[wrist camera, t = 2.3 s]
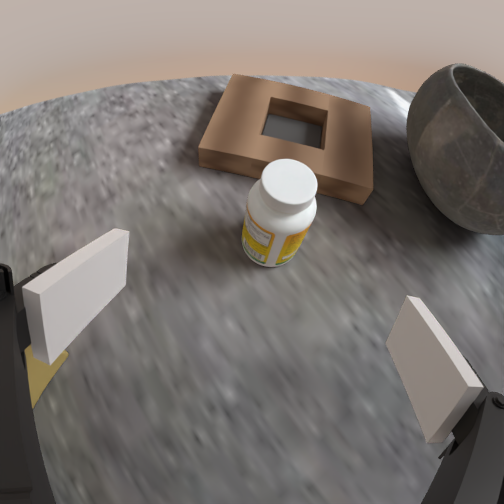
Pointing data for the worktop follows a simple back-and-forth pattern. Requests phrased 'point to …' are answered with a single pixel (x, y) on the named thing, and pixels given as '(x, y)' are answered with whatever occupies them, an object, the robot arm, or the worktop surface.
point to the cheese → (41, 373)
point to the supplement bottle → (279, 212)
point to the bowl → (461, 146)
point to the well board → (291, 135)
